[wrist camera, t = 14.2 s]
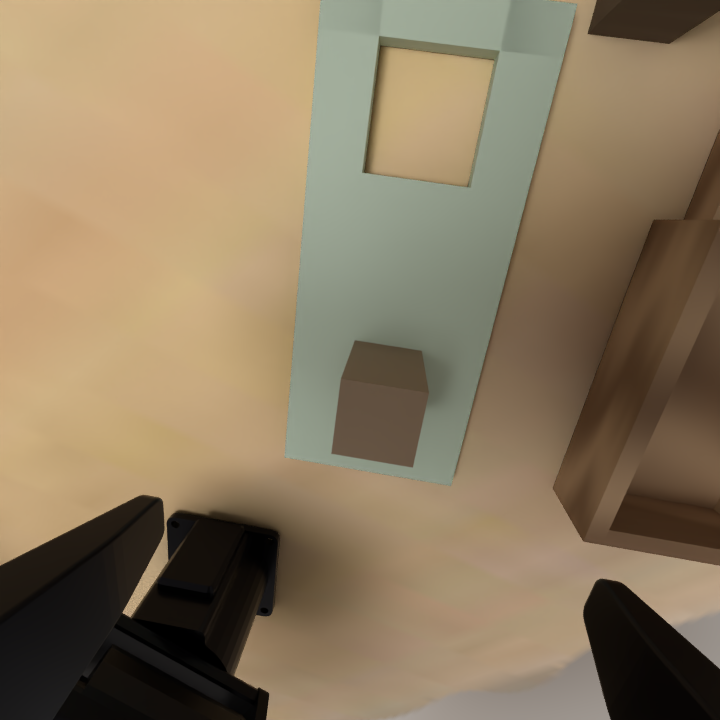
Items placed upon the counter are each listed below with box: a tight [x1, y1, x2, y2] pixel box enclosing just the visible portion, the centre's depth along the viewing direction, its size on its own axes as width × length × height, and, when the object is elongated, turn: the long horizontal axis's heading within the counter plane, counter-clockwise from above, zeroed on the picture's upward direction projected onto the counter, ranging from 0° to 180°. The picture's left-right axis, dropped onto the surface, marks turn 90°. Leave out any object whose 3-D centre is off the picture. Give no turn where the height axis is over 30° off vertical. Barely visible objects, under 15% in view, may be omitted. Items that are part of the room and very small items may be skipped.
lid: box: [285, 0, 577, 486], centre depth 15 cm, size 19×8×5 cm, turn 172°
